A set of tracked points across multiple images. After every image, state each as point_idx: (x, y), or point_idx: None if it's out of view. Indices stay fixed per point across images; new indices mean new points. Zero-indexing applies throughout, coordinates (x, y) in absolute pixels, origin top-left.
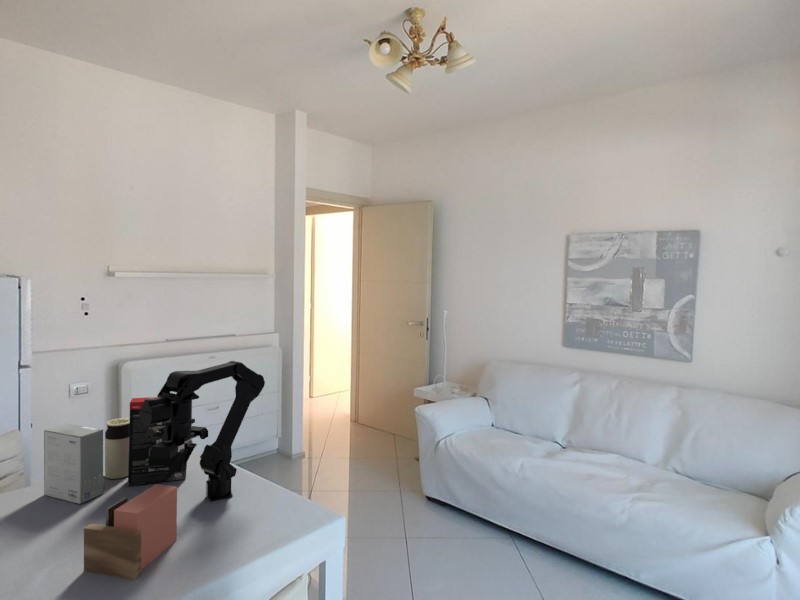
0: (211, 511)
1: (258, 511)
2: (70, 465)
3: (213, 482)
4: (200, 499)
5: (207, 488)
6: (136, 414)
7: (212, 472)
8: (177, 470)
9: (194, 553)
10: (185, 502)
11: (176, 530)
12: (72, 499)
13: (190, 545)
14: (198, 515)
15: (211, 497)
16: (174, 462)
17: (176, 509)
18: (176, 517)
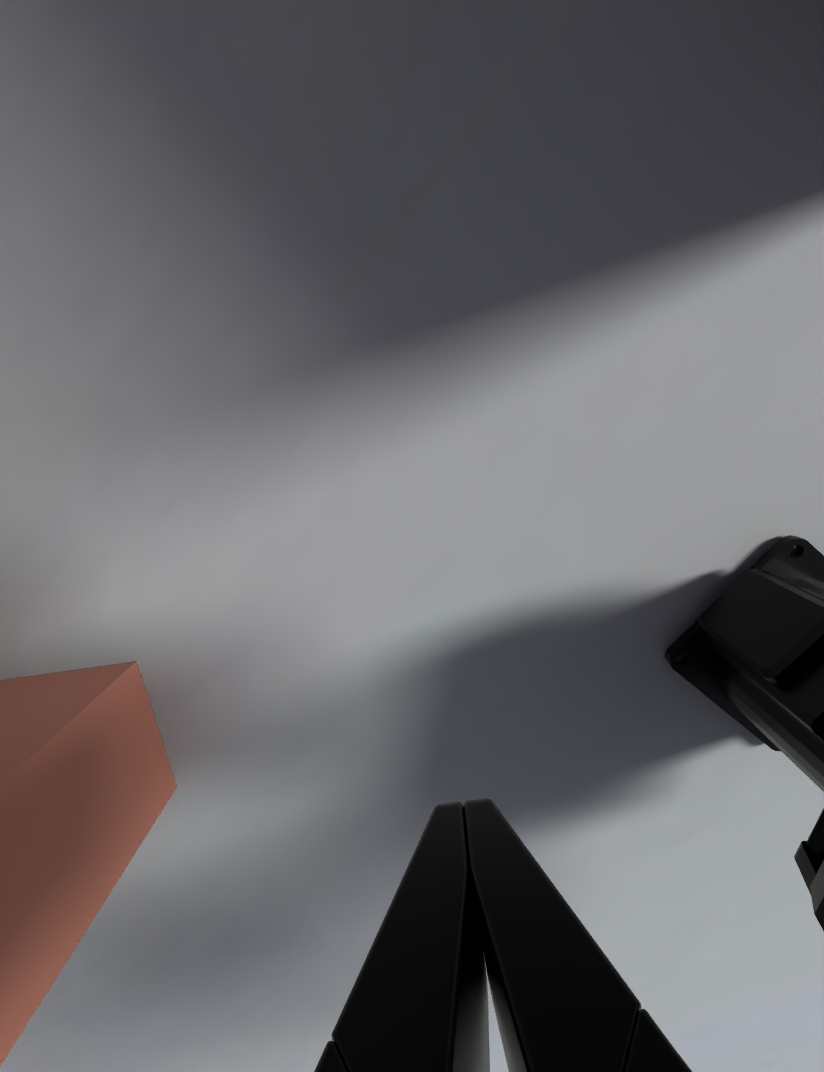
0: (537, 746)
1: (634, 970)
2: None
3: (796, 724)
4: (670, 562)
5: (743, 644)
6: None
7: (822, 887)
8: (430, 822)
9: (138, 935)
10: (589, 492)
11: (144, 836)
12: None
13: (179, 878)
14: (459, 708)
15: (702, 643)
16: (349, 1009)
17: (36, 1001)
18: (87, 924)
